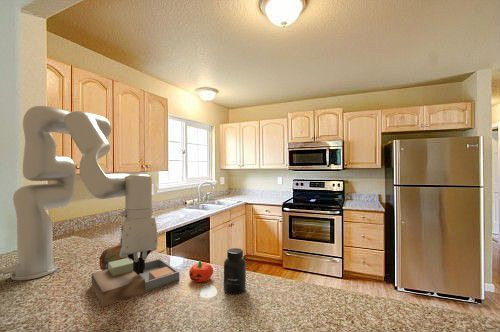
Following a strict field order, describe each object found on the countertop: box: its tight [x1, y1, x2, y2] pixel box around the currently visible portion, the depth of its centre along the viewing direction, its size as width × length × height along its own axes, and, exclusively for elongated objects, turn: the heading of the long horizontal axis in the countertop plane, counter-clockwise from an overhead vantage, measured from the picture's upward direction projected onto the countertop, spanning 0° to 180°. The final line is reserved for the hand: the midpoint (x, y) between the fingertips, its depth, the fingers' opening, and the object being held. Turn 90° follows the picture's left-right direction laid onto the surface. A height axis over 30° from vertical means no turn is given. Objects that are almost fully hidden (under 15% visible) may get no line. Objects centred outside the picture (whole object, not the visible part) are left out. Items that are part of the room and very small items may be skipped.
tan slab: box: [91, 269, 146, 308], centre depth 75 cm, size 11×16×4 cm
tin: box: [99, 242, 132, 271], centre depth 92 cm, size 15×3×8 cm, turn 169°
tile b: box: [108, 258, 133, 276], centre depth 79 cm, size 6×6×2 cm
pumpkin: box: [188, 260, 214, 283], centre depth 81 cm, size 7×8×6 cm
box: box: [140, 258, 180, 293], centre depth 82 cm, size 11×16×3 cm
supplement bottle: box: [223, 247, 247, 295], centre depth 74 cm, size 7×7×12 cm
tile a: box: [149, 267, 174, 280], centre depth 80 cm, size 6×6×2 cm
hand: (139, 272), depth 75 cm, fingers closed
